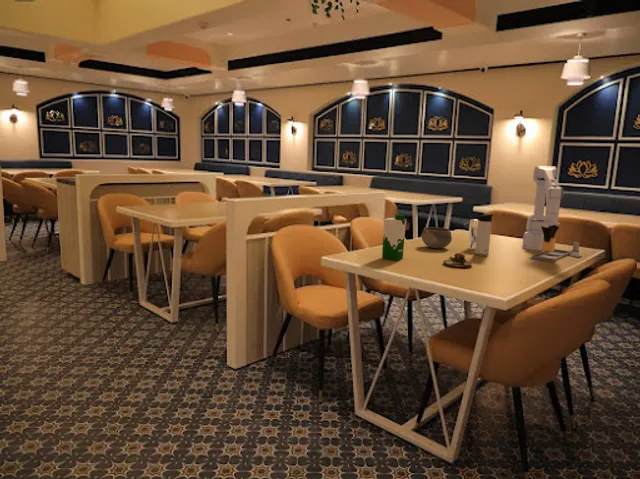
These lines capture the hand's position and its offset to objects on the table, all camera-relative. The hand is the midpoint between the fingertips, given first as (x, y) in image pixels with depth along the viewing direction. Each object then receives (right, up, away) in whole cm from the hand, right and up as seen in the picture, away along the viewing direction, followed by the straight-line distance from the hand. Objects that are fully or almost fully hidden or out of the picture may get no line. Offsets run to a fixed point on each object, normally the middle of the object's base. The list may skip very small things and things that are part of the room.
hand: (548, 241), depth 236 cm
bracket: (+18, -8, +11) cm, 23 cm away
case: (+9, -7, +12) cm, 17 cm away
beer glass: (-29, -4, +22) cm, 36 cm away
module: (0, -4, +1) cm, 4 cm away
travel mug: (-30, -7, +5) cm, 31 cm away
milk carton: (-76, -8, -13) cm, 78 cm away
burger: (-49, -11, -22) cm, 55 cm away
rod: (+18, -8, +11) cm, 23 cm away
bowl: (-49, -4, +20) cm, 53 cm away
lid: (0, -9, +1) cm, 9 cm away
